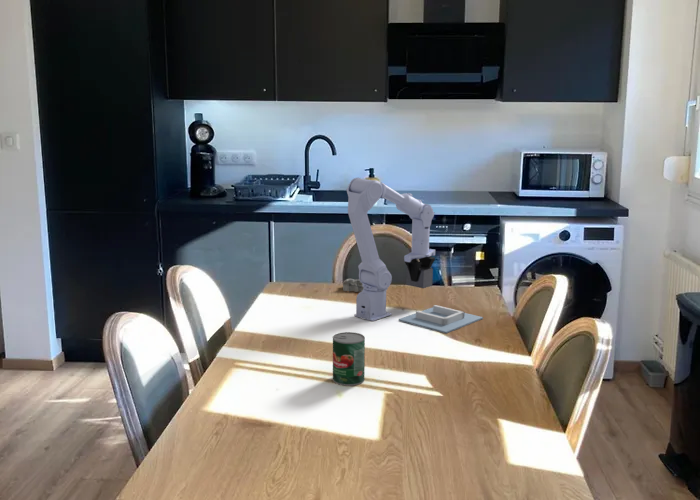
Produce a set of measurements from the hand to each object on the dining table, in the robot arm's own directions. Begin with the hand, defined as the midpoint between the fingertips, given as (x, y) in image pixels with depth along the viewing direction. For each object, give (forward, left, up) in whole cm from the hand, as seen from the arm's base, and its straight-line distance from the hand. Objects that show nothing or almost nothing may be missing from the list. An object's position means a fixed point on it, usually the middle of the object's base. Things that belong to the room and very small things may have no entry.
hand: (419, 279), depth 240 cm
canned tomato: (-64, -27, -9) cm, 70 cm away
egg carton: (+1, +28, -9) cm, 30 cm away
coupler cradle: (-8, -14, -9) cm, 18 cm away
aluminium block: (0, 0, -2) cm, 2 cm away
